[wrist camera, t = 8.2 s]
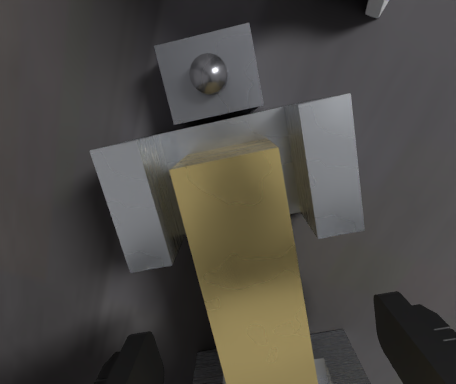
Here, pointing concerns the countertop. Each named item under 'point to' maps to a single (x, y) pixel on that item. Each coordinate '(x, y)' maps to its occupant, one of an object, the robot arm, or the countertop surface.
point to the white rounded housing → (375, 7)
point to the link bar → (246, 262)
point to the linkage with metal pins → (227, 136)
